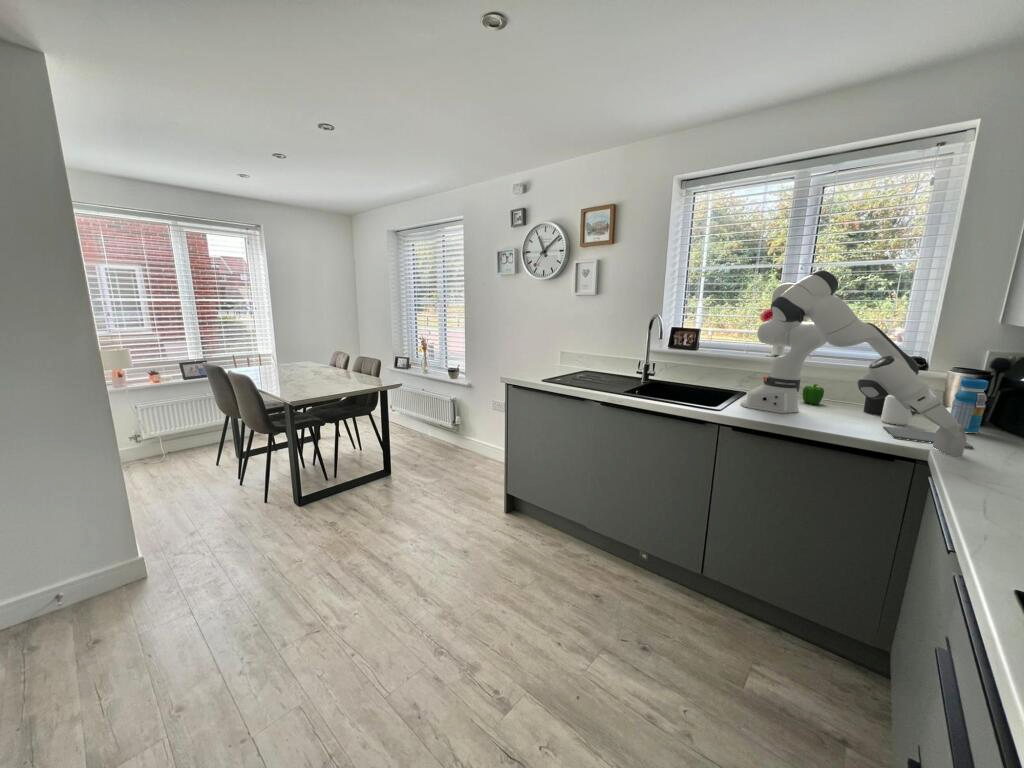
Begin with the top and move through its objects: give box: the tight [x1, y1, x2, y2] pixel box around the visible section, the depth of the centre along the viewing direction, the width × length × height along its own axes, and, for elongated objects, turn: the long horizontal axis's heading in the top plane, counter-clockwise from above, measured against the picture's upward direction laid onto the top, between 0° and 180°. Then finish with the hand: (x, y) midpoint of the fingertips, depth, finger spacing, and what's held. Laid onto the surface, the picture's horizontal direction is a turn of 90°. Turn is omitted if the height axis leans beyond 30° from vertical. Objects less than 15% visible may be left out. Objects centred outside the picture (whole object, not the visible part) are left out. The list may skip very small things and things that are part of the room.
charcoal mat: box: [882, 426, 974, 450], centre depth 146 cm, size 20×14×1 cm
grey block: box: [932, 424, 967, 458], centre depth 131 cm, size 4×7×10 cm, turn 165°
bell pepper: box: [802, 382, 825, 405], centre depth 194 cm, size 8×8×10 cm
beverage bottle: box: [950, 377, 989, 434], centre depth 154 cm, size 8×8×20 cm
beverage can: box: [880, 395, 912, 426], centre depth 163 cm, size 8×8×12 cm
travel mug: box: [863, 396, 886, 416], centre depth 178 cm, size 8×8×20 cm
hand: (952, 431), depth 131 cm, fingers open, 8 cm apart
